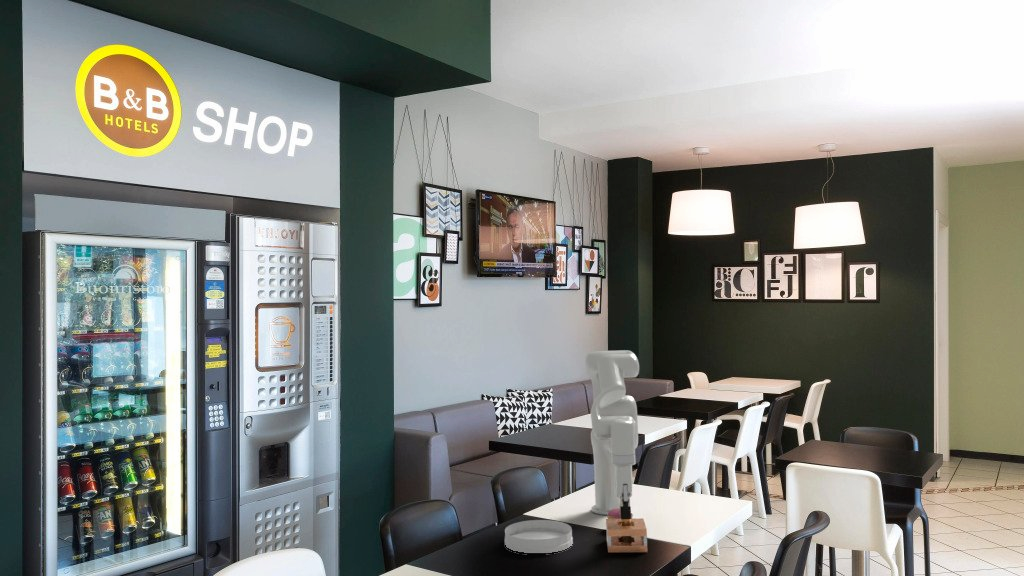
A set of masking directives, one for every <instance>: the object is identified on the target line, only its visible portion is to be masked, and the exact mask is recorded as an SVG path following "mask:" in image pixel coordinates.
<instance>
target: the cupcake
mask: <svg viewBox="0 0 1024 576" xmlns="http://www.w3.org/2000/svg"><path fill="white" fill-rule="evenodd" d="M633 516H634V514H633V513H632V512H631V519H633ZM606 519H620V508H616V509H612V510H611V511H609V513H608V515H606Z"/></svg>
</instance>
